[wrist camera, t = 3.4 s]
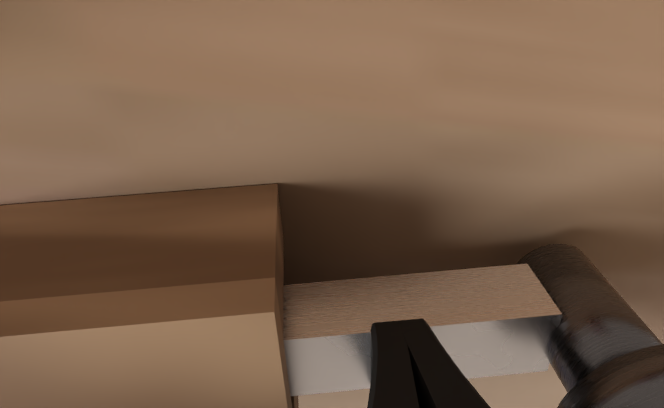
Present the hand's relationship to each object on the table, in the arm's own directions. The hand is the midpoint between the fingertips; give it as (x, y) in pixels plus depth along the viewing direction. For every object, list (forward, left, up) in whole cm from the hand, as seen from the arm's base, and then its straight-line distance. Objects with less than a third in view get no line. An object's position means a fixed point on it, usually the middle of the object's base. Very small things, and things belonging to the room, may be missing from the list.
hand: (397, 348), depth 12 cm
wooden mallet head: (0, +7, -3) cm, 8 cm away
